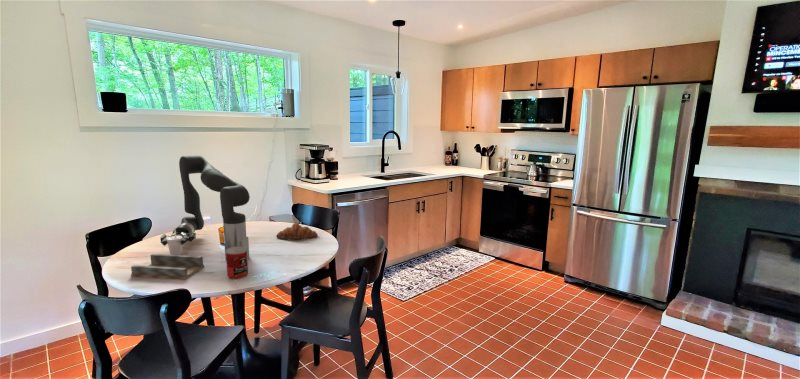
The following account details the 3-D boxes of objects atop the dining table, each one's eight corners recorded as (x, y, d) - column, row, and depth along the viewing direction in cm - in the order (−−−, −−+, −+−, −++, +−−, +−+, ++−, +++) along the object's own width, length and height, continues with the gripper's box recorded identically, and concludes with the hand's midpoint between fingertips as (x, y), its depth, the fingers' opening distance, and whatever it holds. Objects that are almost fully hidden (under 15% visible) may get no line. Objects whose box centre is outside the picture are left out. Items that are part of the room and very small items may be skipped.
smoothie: (176, 261, 164) (174, 230, 162) (164, 260, 165) (161, 229, 163) (187, 256, 170) (185, 227, 168) (175, 255, 171) (173, 225, 169)
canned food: (235, 280, 146) (233, 254, 144) (223, 276, 150) (221, 250, 148) (252, 274, 153) (251, 248, 151) (240, 270, 157) (238, 245, 155)
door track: (204, 267, 159) (203, 256, 158) (184, 279, 146) (183, 267, 145) (154, 264, 160) (153, 253, 159) (131, 276, 147) (129, 264, 147)
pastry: (300, 231, 214) (300, 218, 213) (318, 236, 205) (318, 222, 204) (275, 238, 201) (275, 224, 199) (294, 244, 192) (293, 229, 191)
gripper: (166, 225, 177) (153, 235, 161) (199, 224, 181) (190, 233, 165) (167, 240, 179) (155, 252, 163) (200, 238, 183) (191, 250, 167)
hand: (173, 242), depth 164 cm, fingers open, 6 cm apart
